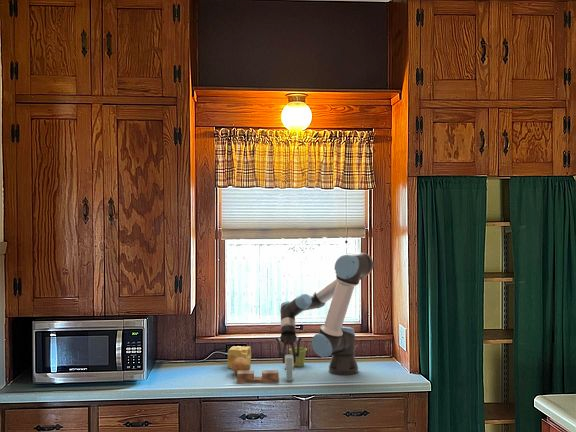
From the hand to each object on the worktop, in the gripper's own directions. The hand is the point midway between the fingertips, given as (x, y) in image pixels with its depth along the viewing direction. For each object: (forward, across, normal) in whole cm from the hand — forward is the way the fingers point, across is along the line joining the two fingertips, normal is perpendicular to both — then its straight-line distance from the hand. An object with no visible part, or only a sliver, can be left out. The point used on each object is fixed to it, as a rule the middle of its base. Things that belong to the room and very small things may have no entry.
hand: (289, 368), depth 323 cm
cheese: (-17, +26, -25) cm, 40 cm away
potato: (-5, +24, -13) cm, 28 cm away
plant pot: (-17, -5, -26) cm, 32 cm away
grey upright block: (+3, 0, -5) cm, 6 cm away
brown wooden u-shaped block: (+5, +15, -3) cm, 16 cm away
